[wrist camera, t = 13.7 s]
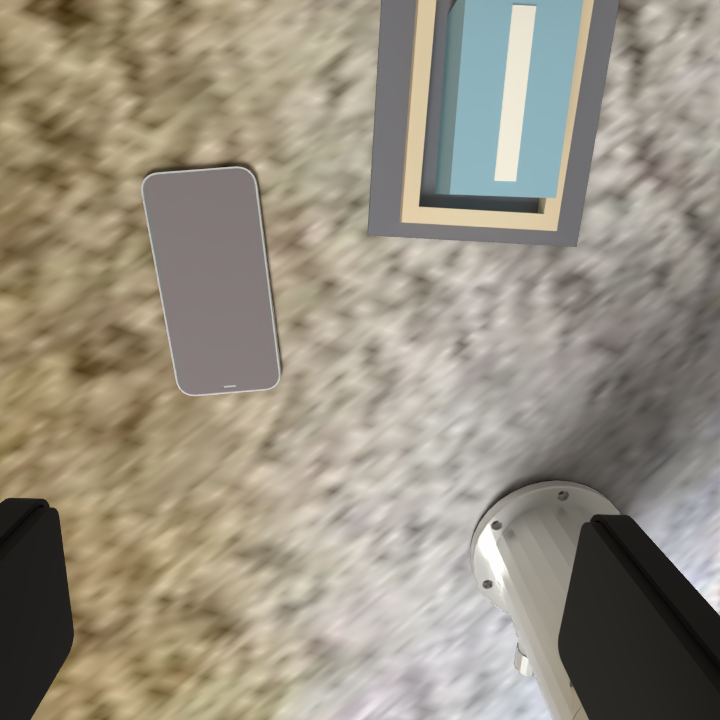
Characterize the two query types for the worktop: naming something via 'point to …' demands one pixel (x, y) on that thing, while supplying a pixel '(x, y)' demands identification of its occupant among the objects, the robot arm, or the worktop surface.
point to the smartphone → (213, 279)
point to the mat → (421, 131)
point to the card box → (506, 96)
